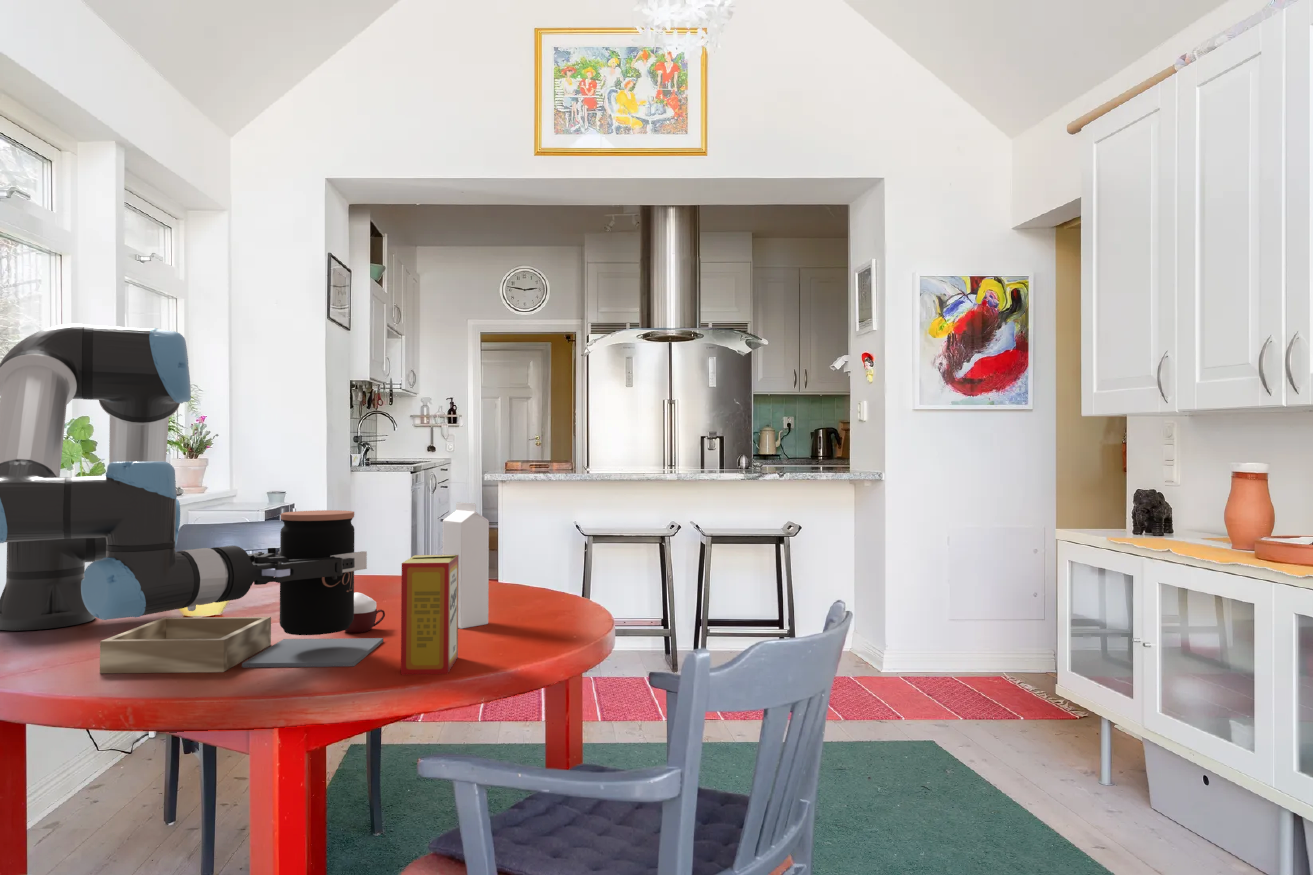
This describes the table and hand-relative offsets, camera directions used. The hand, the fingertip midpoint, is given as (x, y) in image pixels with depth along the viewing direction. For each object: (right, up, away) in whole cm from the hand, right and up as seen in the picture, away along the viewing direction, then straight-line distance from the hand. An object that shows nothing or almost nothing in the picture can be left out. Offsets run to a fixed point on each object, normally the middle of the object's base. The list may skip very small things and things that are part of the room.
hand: (338, 558), depth 137 cm
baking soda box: (+17, -14, -11) cm, 25 cm away
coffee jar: (-2, -11, -4) cm, 11 cm away
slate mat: (-2, -14, -4) cm, 15 cm away
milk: (+16, -15, +19) cm, 29 cm away
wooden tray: (-20, -14, -7) cm, 25 cm away
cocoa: (-2, -15, +13) cm, 20 cm away
